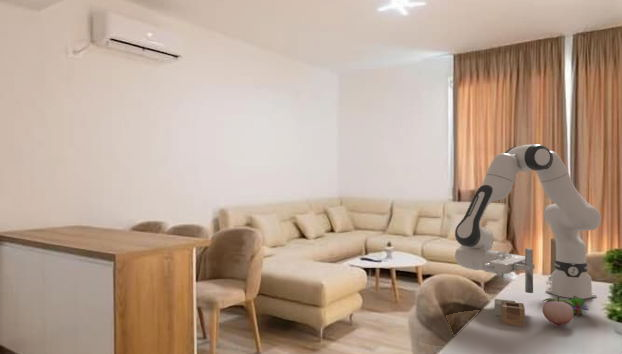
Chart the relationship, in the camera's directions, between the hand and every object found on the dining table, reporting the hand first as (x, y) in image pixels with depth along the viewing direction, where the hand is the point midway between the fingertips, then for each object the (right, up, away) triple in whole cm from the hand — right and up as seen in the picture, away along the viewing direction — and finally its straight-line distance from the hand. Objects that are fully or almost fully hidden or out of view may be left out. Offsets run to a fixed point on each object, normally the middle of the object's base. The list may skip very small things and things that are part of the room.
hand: (531, 267), depth 161 cm
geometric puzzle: (+15, -17, -3) cm, 23 cm away
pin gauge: (0, -9, +1) cm, 9 cm away
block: (-11, -16, -2) cm, 20 cm away
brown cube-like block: (-13, -16, -12) cm, 24 cm away
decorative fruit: (+1, -17, -16) cm, 23 cm away
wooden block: (+43, -17, +52) cm, 69 cm away
